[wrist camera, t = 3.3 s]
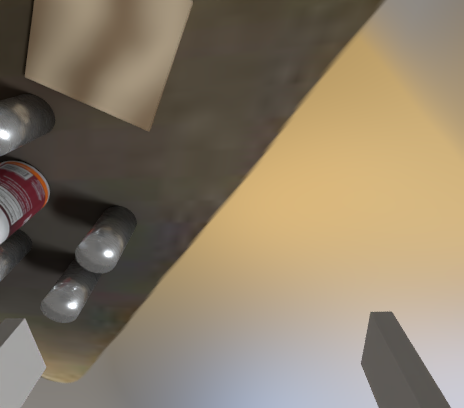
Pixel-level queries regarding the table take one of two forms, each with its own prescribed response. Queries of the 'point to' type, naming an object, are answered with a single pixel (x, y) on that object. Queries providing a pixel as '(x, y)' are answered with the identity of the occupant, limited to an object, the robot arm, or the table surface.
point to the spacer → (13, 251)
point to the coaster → (107, 52)
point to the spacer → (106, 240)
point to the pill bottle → (20, 195)
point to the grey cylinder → (69, 293)
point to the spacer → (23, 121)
